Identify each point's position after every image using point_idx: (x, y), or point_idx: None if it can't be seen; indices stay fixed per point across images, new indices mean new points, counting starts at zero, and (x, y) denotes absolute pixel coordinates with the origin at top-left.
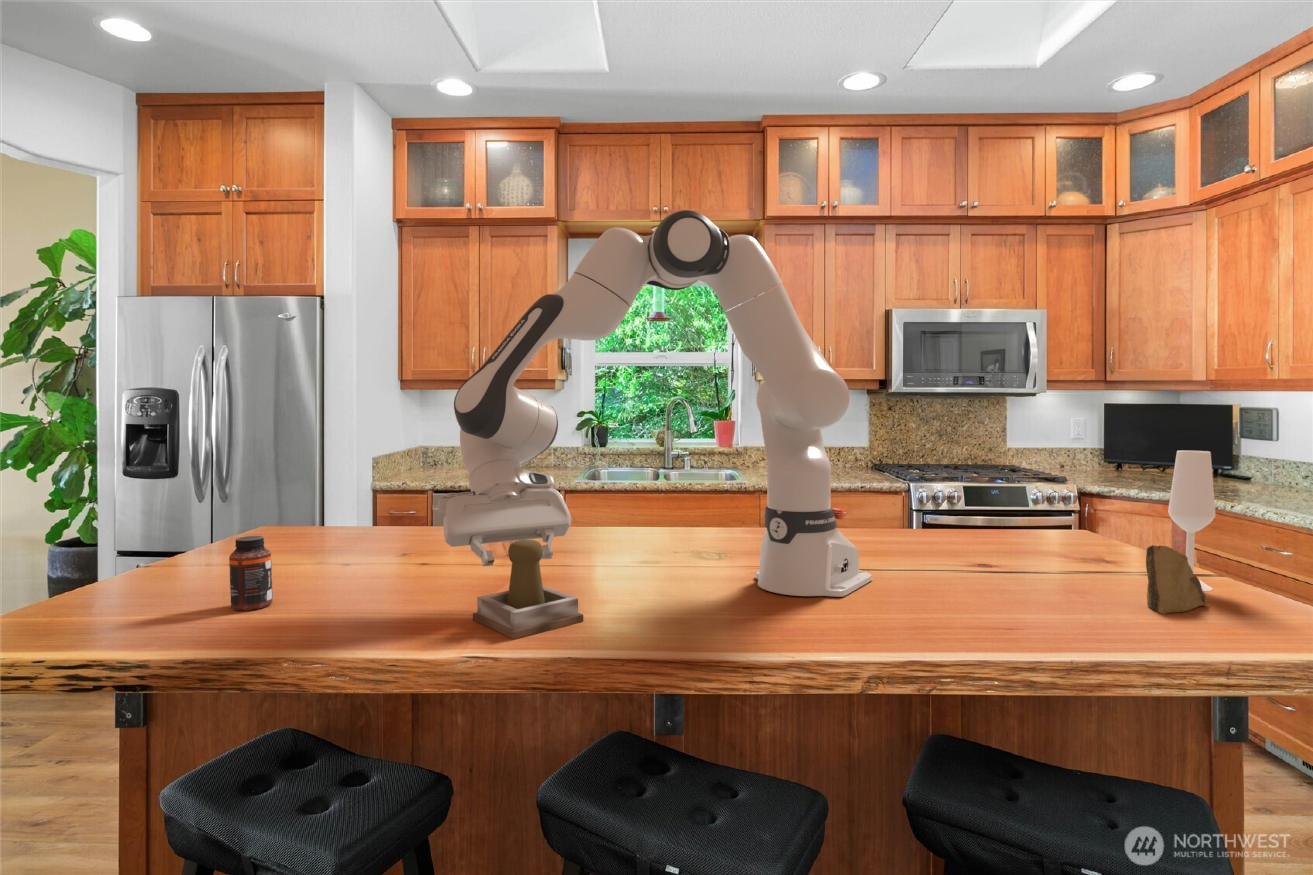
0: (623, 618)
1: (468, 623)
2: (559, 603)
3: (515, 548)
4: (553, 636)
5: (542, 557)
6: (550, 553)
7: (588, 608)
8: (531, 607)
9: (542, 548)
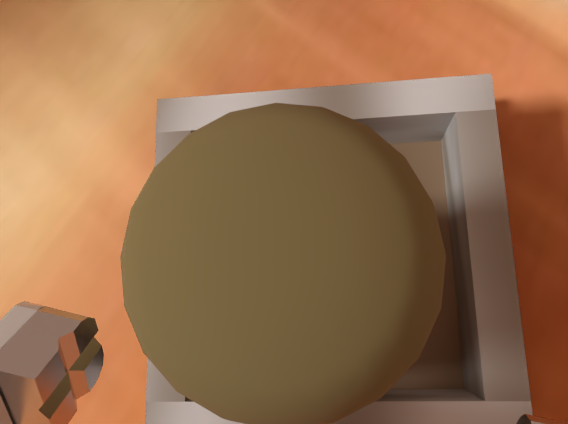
0: (60, 69)
1: (552, 406)
2: (255, 94)
3: (422, 196)
4: (349, 52)
5: (97, 357)
6: (42, 307)
7: (64, 246)
8: (389, 102)
9: (54, 366)
